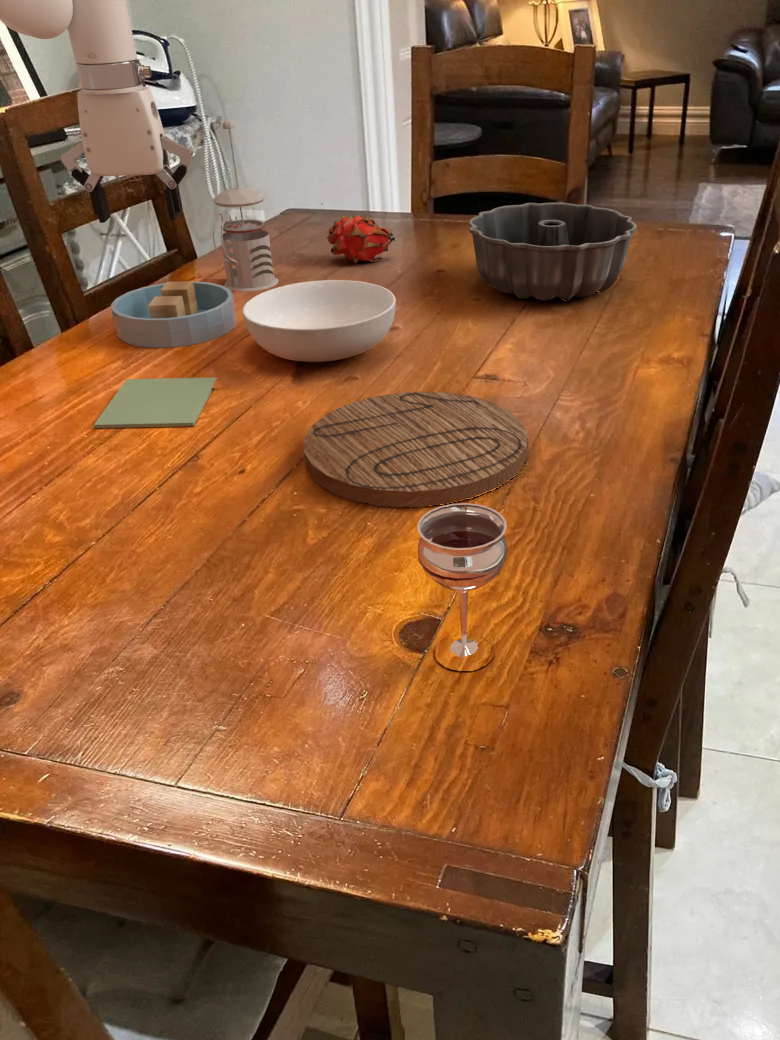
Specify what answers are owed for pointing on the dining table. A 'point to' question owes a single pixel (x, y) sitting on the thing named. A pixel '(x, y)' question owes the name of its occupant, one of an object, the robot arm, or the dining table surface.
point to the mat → (157, 403)
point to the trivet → (415, 449)
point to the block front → (166, 307)
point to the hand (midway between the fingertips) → (140, 219)
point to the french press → (244, 240)
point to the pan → (174, 318)
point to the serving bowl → (320, 319)
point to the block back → (182, 294)
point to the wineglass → (462, 554)
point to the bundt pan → (551, 249)
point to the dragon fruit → (359, 238)
